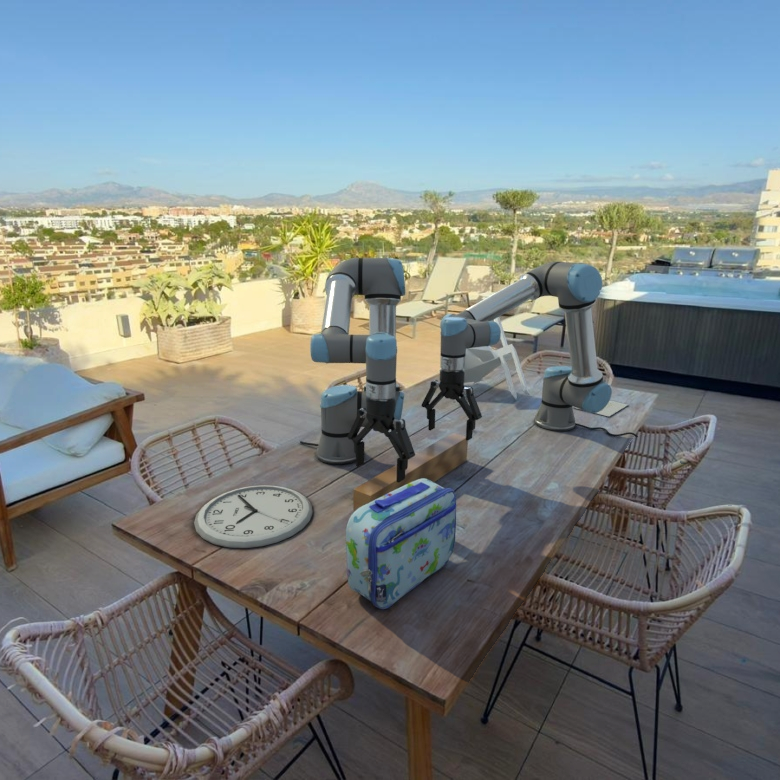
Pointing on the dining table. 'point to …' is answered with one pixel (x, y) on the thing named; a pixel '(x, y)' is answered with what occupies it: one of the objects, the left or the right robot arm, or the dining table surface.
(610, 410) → the invitation card
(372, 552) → the lunch box
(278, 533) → the wall clock
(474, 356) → the white plastic object
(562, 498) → the dining table surface
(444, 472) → the post
